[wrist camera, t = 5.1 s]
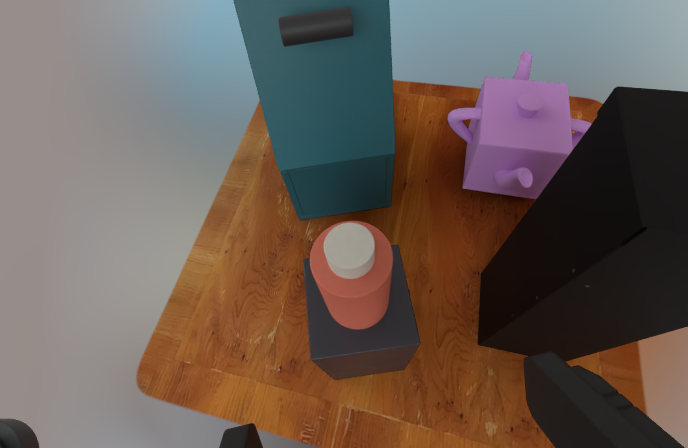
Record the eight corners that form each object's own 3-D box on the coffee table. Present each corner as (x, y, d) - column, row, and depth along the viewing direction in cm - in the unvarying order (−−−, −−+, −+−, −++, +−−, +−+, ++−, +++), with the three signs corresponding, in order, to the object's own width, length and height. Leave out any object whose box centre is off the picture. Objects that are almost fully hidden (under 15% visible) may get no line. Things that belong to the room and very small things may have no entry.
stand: (334, 380, 34) (310, 360, 22) (327, 309, 37) (303, 258, 25) (404, 369, 34) (421, 343, 22) (390, 300, 37) (398, 244, 25)
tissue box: (562, 364, 33) (1095, 217, 8) (476, 346, 34) (721, 174, 10) (557, 286, 36) (921, 26, 12) (479, 272, 38) (666, 15, 13)
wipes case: (293, 139, 50) (276, 82, 41) (372, 127, 50) (372, 67, 41) (299, 220, 43) (280, 172, 34) (391, 206, 43) (394, 154, 34)
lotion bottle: (330, 334, 22) (307, 294, 15) (323, 273, 24) (301, 213, 17) (394, 324, 22) (403, 280, 15) (382, 264, 24) (385, 200, 17)
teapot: (585, 187, 42) (645, 121, 32) (494, 236, 40) (531, 180, 30) (501, 111, 49) (531, 39, 40) (421, 149, 47) (432, 82, 38)
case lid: (234, -4, 26) (220, -1, 22) (386, -28, 26) (400, -29, 22) (279, 167, 34) (275, 192, 30) (394, 150, 34) (405, 173, 30)
